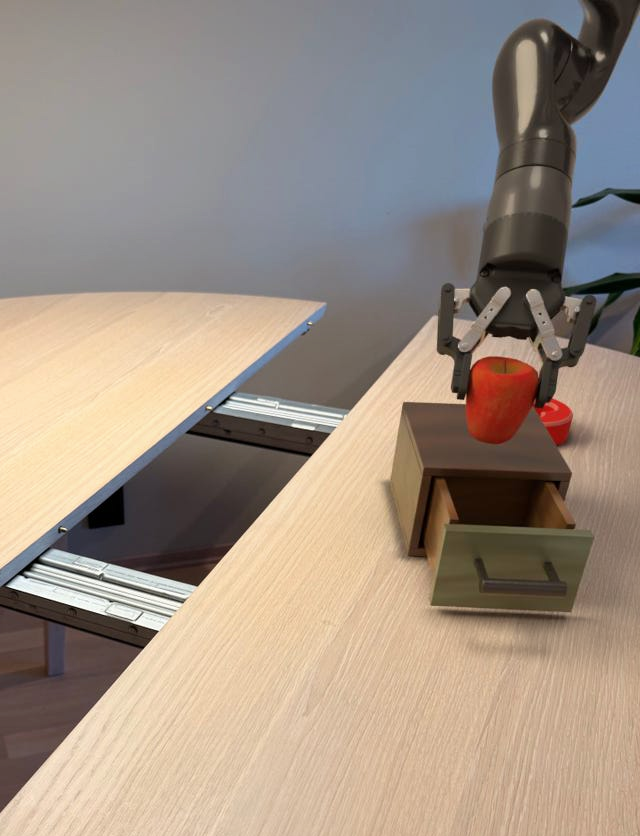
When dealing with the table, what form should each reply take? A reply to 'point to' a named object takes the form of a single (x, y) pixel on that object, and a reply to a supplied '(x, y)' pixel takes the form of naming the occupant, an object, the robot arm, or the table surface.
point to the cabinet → (462, 459)
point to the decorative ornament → (556, 419)
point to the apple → (499, 398)
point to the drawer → (502, 544)
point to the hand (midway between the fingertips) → (500, 400)
